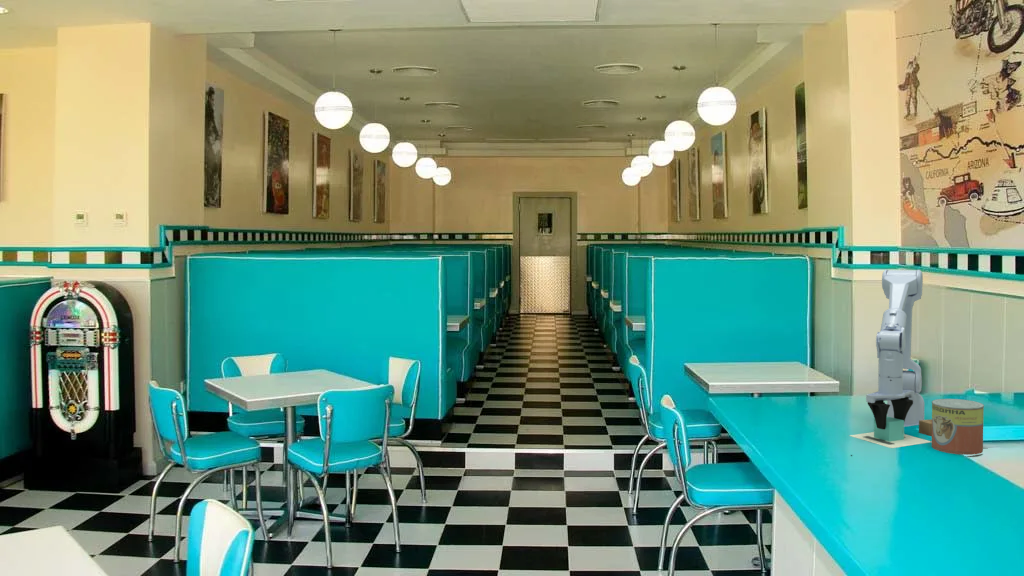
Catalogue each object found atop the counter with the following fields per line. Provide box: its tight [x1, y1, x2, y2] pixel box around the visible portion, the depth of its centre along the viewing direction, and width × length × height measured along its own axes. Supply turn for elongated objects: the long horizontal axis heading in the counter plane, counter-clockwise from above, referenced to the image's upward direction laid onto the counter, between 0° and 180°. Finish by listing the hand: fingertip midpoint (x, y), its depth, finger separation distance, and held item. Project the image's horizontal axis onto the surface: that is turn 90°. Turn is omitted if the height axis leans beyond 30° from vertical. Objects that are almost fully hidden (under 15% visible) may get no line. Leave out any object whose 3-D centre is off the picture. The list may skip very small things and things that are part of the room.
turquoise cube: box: [873, 417, 905, 442], centre depth 205 cm, size 5×5×5 cm
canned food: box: [931, 398, 985, 458], centre depth 194 cm, size 11×11×12 cm
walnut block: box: [918, 418, 932, 437], centre depth 209 cm, size 4×4×4 cm
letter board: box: [848, 431, 932, 449], centre depth 205 cm, size 14×14×1 cm
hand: (890, 427), depth 205 cm, fingers open, 6 cm apart
